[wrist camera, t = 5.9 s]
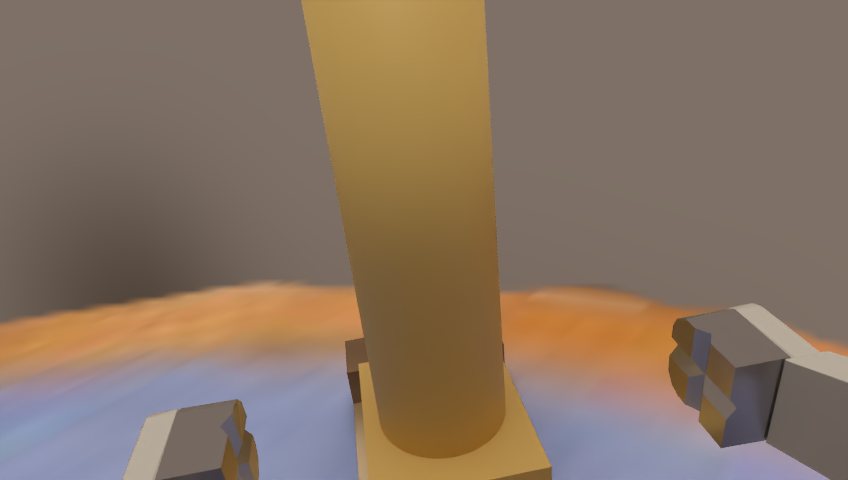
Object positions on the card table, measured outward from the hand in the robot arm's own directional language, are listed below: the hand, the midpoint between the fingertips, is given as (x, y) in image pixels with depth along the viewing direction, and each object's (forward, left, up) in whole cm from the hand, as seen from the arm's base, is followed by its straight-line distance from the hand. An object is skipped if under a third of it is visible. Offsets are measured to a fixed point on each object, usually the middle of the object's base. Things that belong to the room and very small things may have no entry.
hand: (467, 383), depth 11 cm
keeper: (-4, +3, -8) cm, 9 cm away
